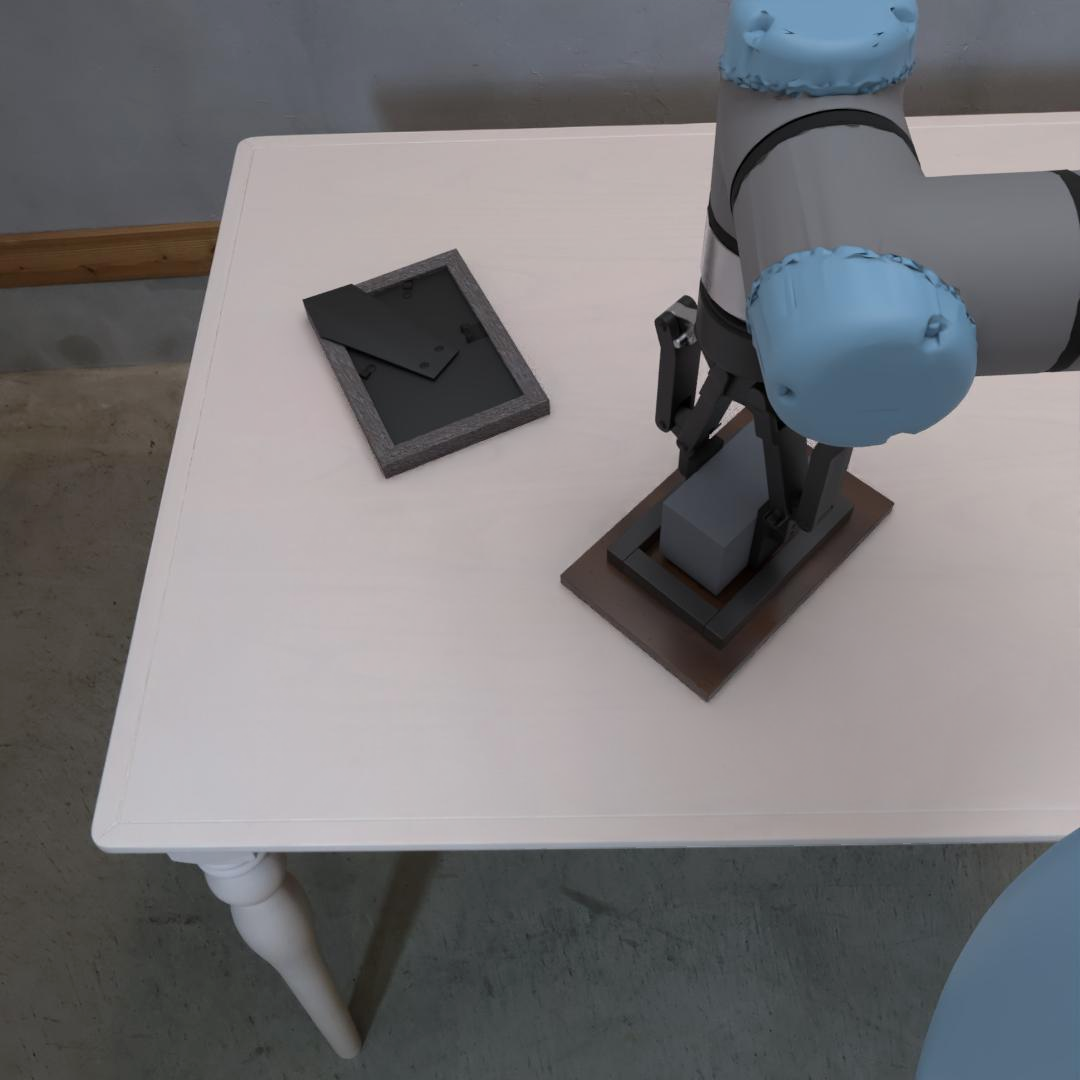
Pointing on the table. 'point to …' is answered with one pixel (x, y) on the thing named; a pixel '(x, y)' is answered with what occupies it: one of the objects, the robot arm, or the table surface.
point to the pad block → (717, 513)
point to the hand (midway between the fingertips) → (731, 529)
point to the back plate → (692, 610)
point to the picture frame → (424, 361)
